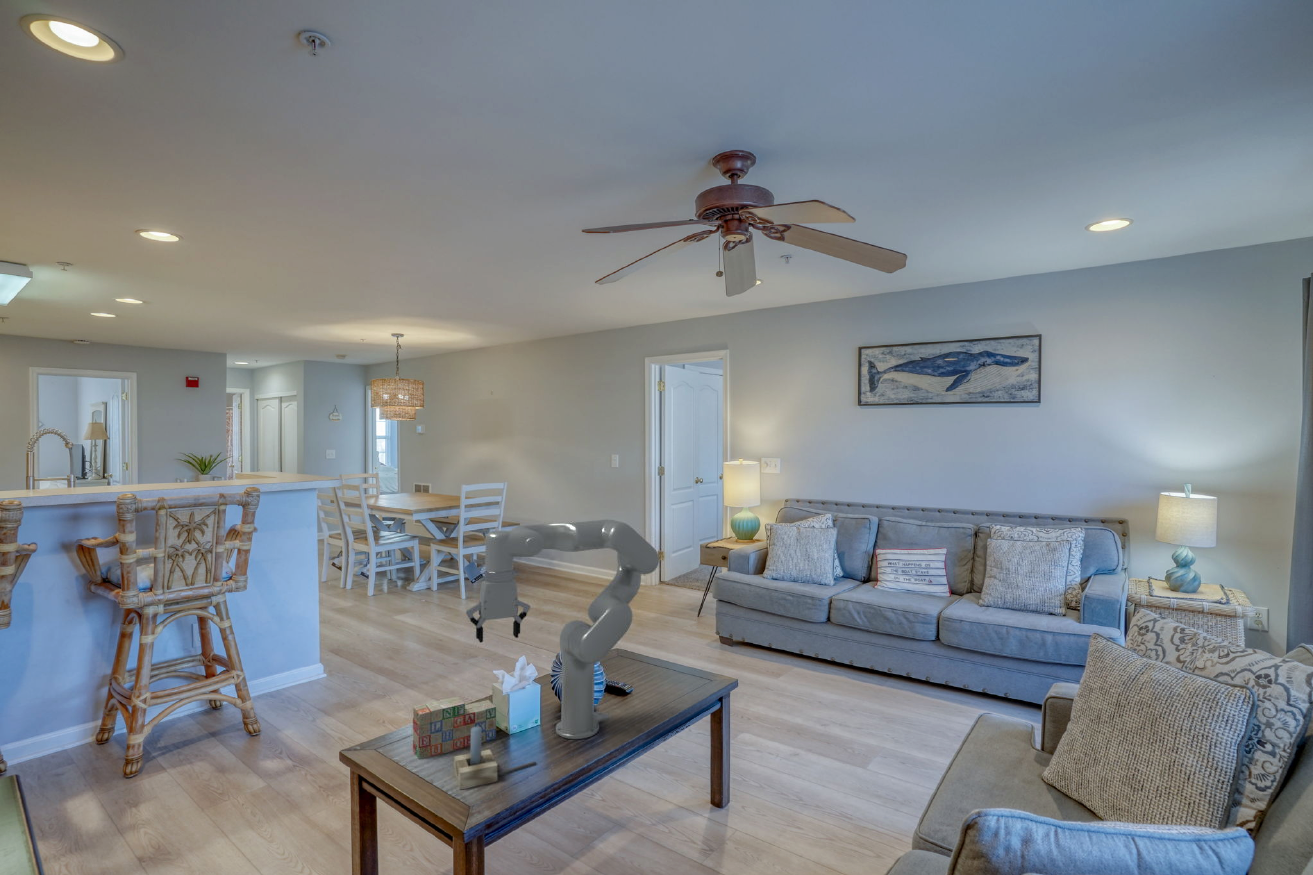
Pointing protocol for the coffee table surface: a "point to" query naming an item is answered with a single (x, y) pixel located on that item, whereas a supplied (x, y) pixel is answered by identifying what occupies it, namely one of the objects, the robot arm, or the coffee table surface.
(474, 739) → the grey peg
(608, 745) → the coffee table surface
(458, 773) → the beige hollow block
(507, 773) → the dark brown rod
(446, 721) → the stack of blocks
